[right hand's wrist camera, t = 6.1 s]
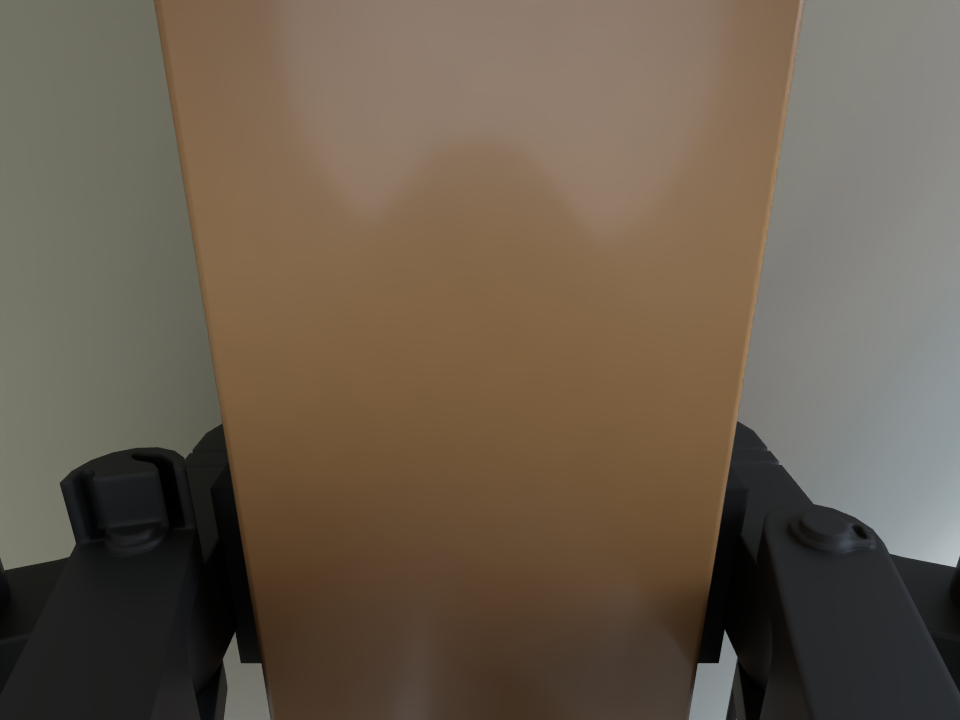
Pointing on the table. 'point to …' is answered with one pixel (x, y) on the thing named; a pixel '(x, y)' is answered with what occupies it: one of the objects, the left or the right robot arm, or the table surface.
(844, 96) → the table surface
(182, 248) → the table surface
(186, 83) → the bar
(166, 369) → the table surface
